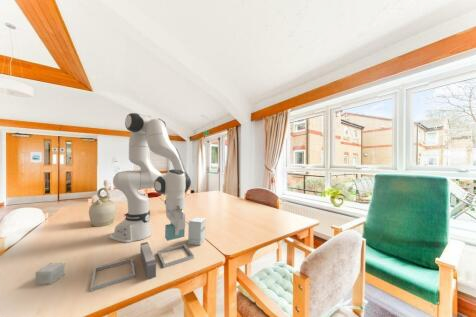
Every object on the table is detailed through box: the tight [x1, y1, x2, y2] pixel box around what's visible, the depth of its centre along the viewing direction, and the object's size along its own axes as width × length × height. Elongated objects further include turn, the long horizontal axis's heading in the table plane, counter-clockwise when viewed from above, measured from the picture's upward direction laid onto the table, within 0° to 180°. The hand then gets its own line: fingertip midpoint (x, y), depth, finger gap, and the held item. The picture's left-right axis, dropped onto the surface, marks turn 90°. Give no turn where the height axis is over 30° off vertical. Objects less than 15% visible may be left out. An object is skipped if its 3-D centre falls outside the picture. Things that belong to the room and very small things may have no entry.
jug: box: [88, 187, 117, 227], centre depth 124 cm, size 15×16×25 cm
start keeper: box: [156, 243, 195, 268], centre depth 85 cm, size 14×14×1 cm
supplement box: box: [187, 216, 207, 246], centre depth 99 cm, size 7×7×13 cm
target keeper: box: [89, 257, 136, 292], centre depth 71 cm, size 14×14×1 cm
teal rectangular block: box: [164, 223, 186, 241], centre depth 85 cm, size 8×4×6 cm, turn 125°
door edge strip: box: [139, 241, 157, 280], centre depth 78 cm, size 22×3×5 cm, turn 35°
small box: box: [34, 262, 66, 286], centre depth 67 cm, size 6×6×5 cm
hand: (174, 232), depth 85 cm, fingers closed on teal rectangular block, 4 cm apart
